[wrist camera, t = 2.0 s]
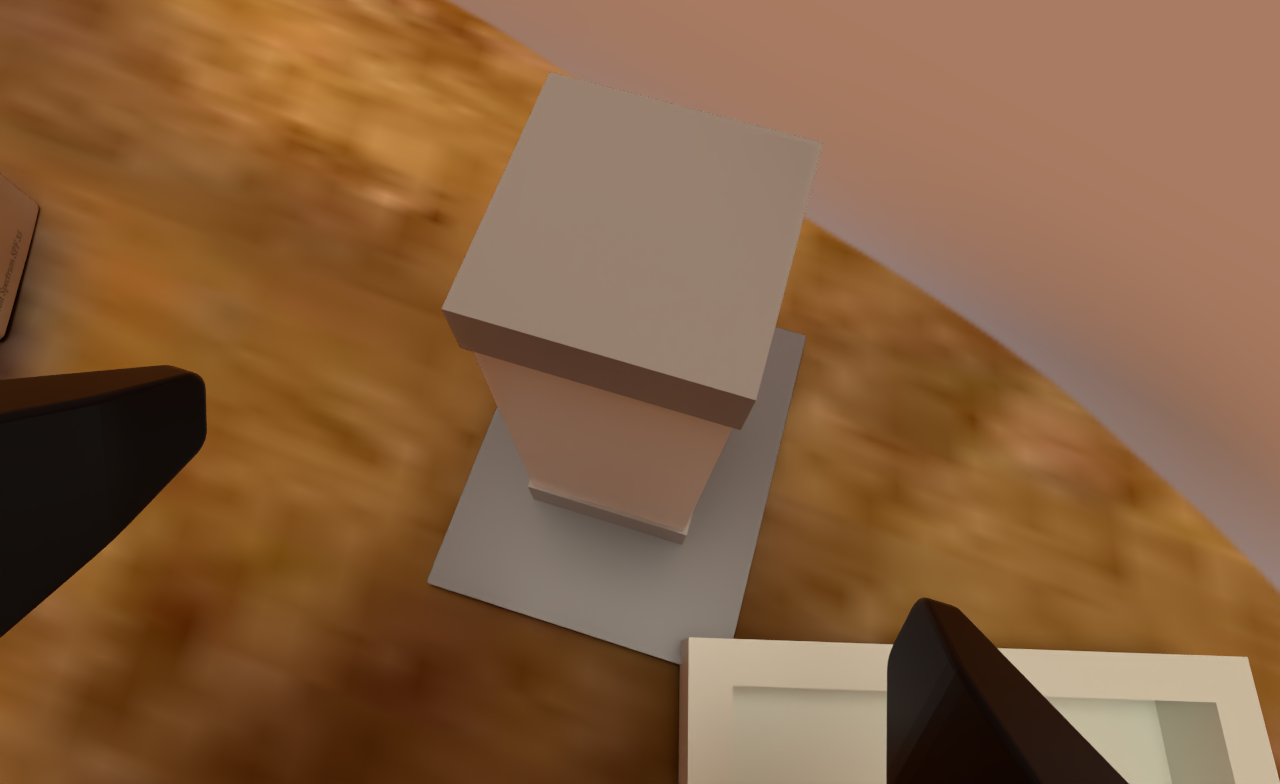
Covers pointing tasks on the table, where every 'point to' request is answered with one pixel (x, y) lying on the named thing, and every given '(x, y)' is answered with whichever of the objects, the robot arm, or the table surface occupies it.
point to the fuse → (630, 294)
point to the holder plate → (621, 539)
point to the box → (13, 243)
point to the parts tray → (857, 712)
